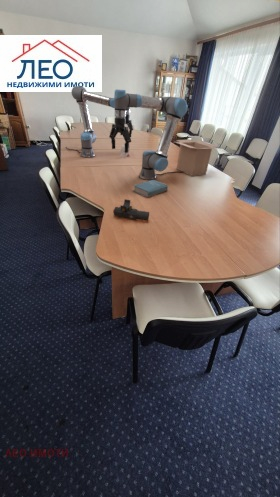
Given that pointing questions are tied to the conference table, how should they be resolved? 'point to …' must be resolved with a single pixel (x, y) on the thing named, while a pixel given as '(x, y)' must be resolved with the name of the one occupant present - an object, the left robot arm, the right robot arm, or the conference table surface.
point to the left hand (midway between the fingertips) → (125, 136)
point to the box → (194, 157)
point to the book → (150, 188)
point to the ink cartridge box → (124, 151)
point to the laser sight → (130, 212)
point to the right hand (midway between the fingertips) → (119, 150)
